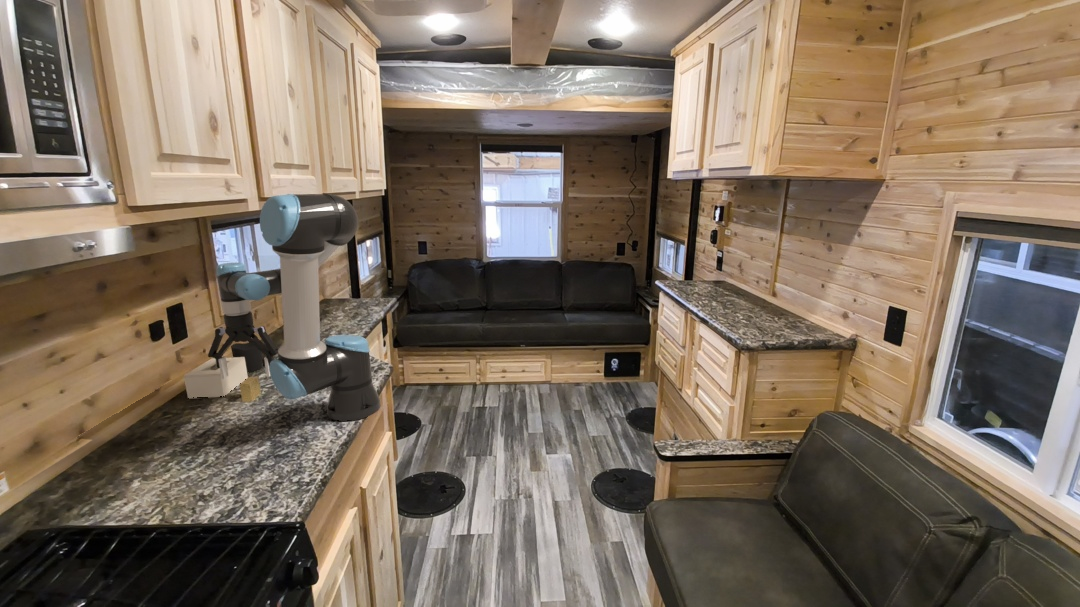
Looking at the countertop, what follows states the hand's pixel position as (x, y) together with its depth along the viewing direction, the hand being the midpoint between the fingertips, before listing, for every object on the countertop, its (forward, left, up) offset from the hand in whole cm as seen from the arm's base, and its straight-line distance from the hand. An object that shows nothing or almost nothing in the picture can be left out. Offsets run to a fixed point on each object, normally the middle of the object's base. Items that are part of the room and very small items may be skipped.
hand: (247, 376), depth 152 cm
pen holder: (+27, +13, -8) cm, 31 cm away
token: (0, 0, -7) cm, 7 cm away
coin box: (+10, +15, -7) cm, 19 cm away
